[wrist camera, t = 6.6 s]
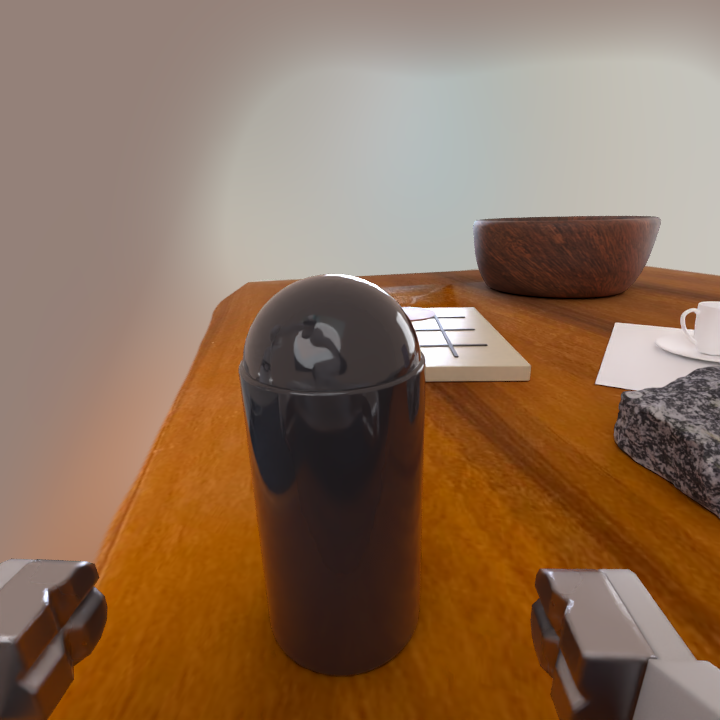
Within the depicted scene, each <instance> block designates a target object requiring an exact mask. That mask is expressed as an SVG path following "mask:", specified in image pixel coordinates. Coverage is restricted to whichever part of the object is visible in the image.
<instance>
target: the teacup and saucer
mask: <svg viewBox="0 0 720 720" xmlns="http://www.w3.org/2000/svg"><path fill="white" fill-rule="evenodd" d="M690 312H695V313H696V314H697V315H696V321H695V330H694V331H693V333H690V332H689V330H688V329H687V328H686V325H685V317H686V315H687V314H688V313H690ZM680 323H681V327H682V329H681V330H682V332H683V333H674V334H665V335H661V336H658V337H657V338H656V339H655V340H654V344H655V345H656V346H657V347H659V348H660V349H662V350H664V351H667V352H669V353H672V354H675V355H678V356H682V357H686V358H690V359H695V360H700V361H706V362H713V363H720V302H714V301H708V302H700V303H699V304H698V308H697V309H695V308H692V309H688V310H686V311H685V312H683V313H682V315H681V318H680Z"/></svg>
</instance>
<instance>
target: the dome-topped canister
mask: <svg viewBox="0 0 720 720" xmlns="http://www.w3.org/2000/svg"><path fill="white" fill-rule="evenodd" d="M239 379H240V387H241V394H242V402H243V410H244V418H245V426H246V434H247V442H248V450H249V458H250V466H251V474H252V482H253V490H254V498H255V506H256V514H257V522H258V530H259V538H260V546H261V554H262V562H263V570H264V578H265V586H266V594H267V602H268V610H269V618H270V625H271V629H272V632H273V635H274V637H275V639H276V641H277V643H278V644H279V646H280V647H281V649H282V650H283V651H284V652H285V653H286V654H287V655H288V656H289V657H290V658H291V659H292V660H294V661H295V662H296V663H298V664H299V665H301V666H303V667H305V668H306V669H309V670H311V671H314V672H317V673H321V674H325V675H333V676H350V675H355V674H361V673H364V672H367V671H371V670H373V669H375V668H377V667H380V666H382V665H383V664H385V663H386V662H388V661H390V660H391V659H392V658H393V657H395V656H396V655H397V654H398V653H399V652H400V651H401V650H402V649H403V648H404V647H405V645H406V644H407V643H408V641H409V640H410V638H411V637H412V635H413V633H414V630H415V628H416V626H417V622H418V619H419V612H420V579H421V539H422V499H423V459H424V419H425V379H426V359H425V356H424V354H423V353H422V351H421V349H420V344H419V339H418V336H417V333H416V330H415V328H414V326H413V324H412V322H411V320H410V318H409V317H408V315H407V314H406V312H405V311H404V309H403V308H402V307H401V306H400V305H399V304H398V302H397V301H396V300H395V299H394V298H392V297H391V296H390V295H389V294H388V293H386V292H385V291H384V290H382V289H381V288H379V287H378V286H376V285H374V284H372V283H370V282H368V281H365V280H363V279H360V278H356V277H353V276H348V275H339V274H323V275H317V276H312V277H308V278H305V279H302V280H299V281H296V282H294V283H292V284H291V285H289V286H287V287H285V288H283V289H282V290H281V291H279V292H278V293H277V294H275V295H274V296H273V297H272V298H271V299H270V300H269V301H268V302H267V303H266V304H265V305H264V306H263V308H262V309H261V310H260V311H259V313H258V314H257V316H256V317H255V319H254V321H253V323H252V325H251V327H250V330H249V332H248V335H247V337H246V341H245V346H244V350H243V360H242V361H241V363H240V366H239Z"/></svg>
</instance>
